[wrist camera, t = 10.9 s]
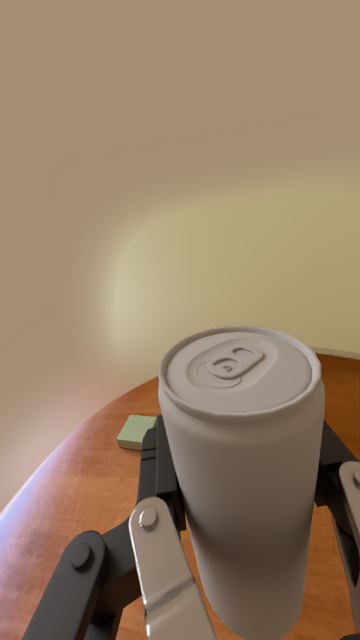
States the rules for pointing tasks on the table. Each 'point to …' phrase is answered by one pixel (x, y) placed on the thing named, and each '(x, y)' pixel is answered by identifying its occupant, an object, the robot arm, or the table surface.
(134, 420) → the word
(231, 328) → the beverage can
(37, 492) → the table surface
